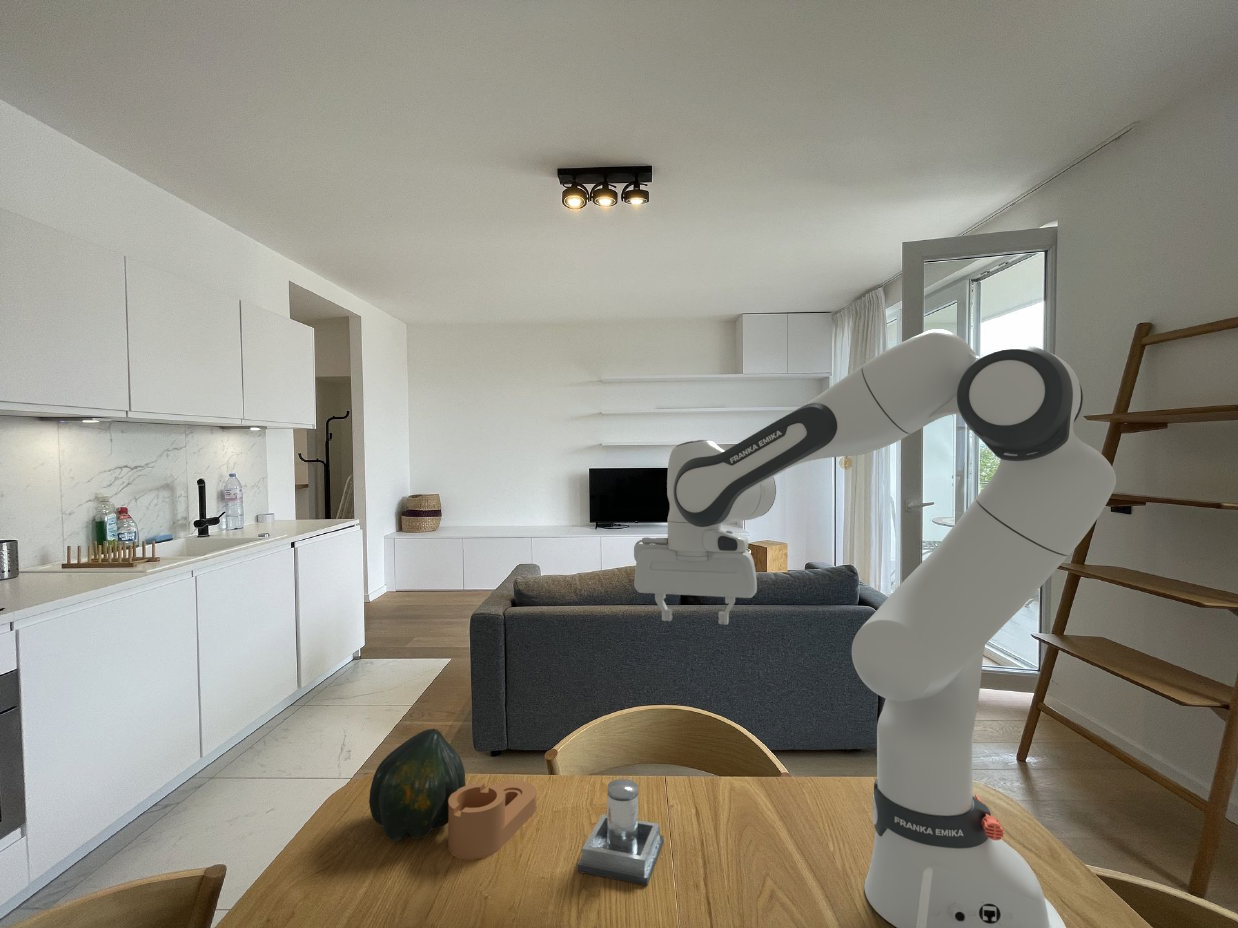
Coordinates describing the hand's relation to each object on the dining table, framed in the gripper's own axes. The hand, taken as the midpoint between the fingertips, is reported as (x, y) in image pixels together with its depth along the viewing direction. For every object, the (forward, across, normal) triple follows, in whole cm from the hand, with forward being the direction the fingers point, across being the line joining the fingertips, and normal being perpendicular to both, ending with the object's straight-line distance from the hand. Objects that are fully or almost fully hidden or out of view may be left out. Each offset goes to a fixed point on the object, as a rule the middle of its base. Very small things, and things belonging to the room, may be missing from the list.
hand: (695, 621), depth 102 cm
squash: (+31, -42, -17) cm, 54 cm away
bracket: (+31, -30, -14) cm, 45 cm away
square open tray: (+31, -8, -16) cm, 35 cm away
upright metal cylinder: (+30, -8, -16) cm, 35 cm away
